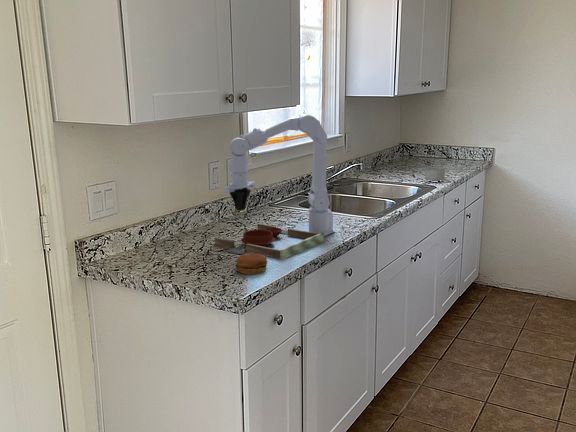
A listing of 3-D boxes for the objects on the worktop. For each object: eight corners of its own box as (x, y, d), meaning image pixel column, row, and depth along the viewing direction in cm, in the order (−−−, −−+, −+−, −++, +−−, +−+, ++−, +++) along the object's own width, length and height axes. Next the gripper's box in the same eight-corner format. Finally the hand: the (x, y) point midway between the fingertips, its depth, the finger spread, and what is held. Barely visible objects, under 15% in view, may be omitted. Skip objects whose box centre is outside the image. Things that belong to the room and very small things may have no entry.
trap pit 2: (282, 230, 217) (282, 229, 217) (295, 232, 213) (295, 231, 213) (276, 232, 213) (276, 231, 213) (289, 235, 210) (289, 234, 210)
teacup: (440, 184, 309) (441, 169, 307) (421, 182, 315) (422, 168, 313) (448, 180, 321) (449, 166, 319) (429, 179, 326) (430, 165, 324)
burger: (250, 277, 165) (250, 262, 164) (229, 270, 172) (228, 255, 171) (274, 269, 172) (274, 254, 171) (253, 263, 179) (252, 249, 178)
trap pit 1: (232, 248, 194) (232, 247, 193) (246, 251, 190) (246, 250, 190) (224, 251, 190) (224, 250, 190) (238, 254, 187) (238, 253, 187)
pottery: (234, 247, 195) (234, 235, 194) (263, 234, 213) (263, 222, 212) (264, 252, 190) (264, 239, 189) (291, 237, 207) (291, 226, 206)
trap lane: (259, 229, 218) (259, 222, 217) (323, 241, 202) (324, 232, 201) (214, 245, 198) (214, 236, 197) (282, 259, 182) (282, 250, 181)
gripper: (243, 168, 210) (244, 204, 213) (217, 174, 198) (218, 212, 201) (258, 170, 206) (259, 207, 209) (232, 175, 194) (233, 214, 197)
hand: (240, 209), depth 205 cm, fingers closed
